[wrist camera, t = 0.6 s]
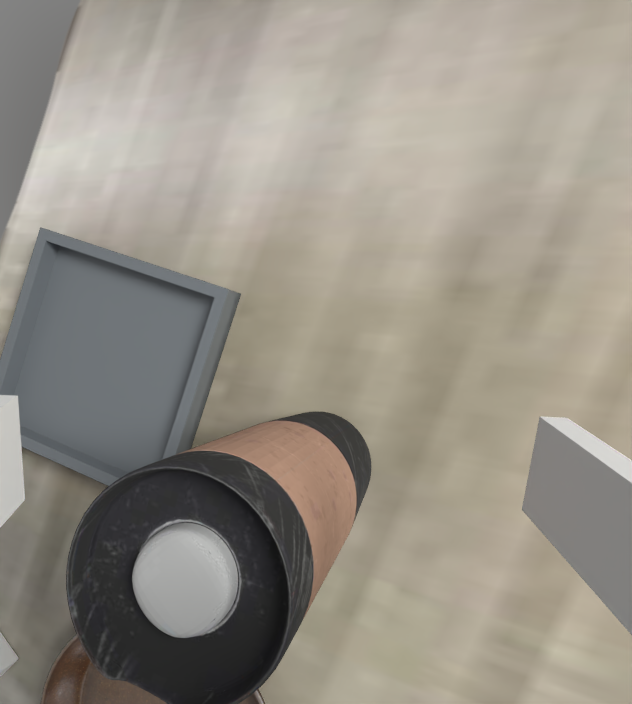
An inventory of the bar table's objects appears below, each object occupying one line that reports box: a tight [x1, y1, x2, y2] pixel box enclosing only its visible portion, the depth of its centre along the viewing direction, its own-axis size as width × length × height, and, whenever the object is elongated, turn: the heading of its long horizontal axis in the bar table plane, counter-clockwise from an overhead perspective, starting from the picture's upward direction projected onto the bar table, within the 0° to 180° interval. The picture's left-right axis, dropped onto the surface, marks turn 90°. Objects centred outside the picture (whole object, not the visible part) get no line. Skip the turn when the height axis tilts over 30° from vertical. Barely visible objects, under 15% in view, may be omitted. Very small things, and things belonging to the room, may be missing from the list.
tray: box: [0, 227, 241, 486], centre depth 37 cm, size 16×16×2 cm
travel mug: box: [66, 412, 371, 704], centre depth 25 cm, size 8×8×20 cm
